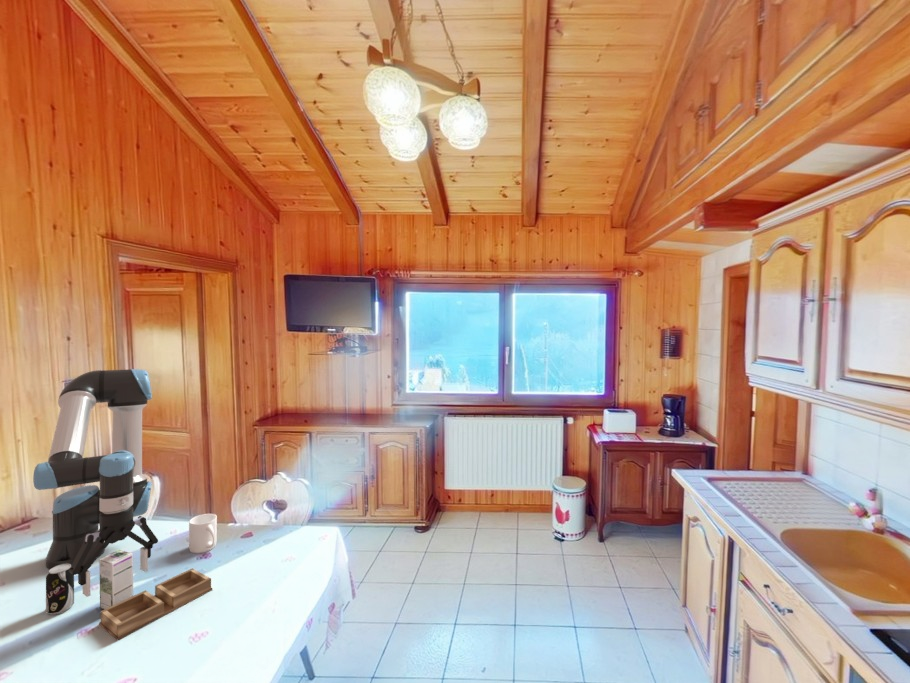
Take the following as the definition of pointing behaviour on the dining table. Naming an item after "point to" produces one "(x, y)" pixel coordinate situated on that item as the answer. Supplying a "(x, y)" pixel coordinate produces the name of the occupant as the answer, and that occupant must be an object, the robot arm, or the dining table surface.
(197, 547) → the mug
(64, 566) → the beverage can
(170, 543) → the dining table surface
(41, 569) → the dining table surface
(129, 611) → the rack
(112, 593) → the syrup box
